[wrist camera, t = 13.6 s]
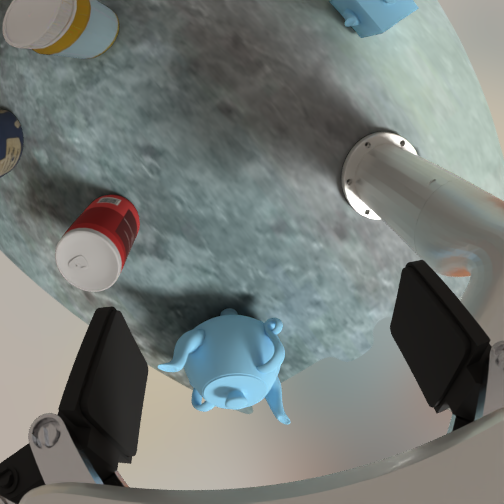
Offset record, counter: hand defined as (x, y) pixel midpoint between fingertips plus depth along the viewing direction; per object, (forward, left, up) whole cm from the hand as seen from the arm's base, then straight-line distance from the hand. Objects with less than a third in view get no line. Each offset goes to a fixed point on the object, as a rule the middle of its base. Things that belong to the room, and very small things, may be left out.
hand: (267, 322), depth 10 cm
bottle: (+14, -18, -30) cm, 38 cm away
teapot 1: (+5, +31, -30) cm, 43 cm away
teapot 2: (-18, -16, -30) cm, 39 cm away
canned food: (+17, +7, -30) cm, 35 cm away
